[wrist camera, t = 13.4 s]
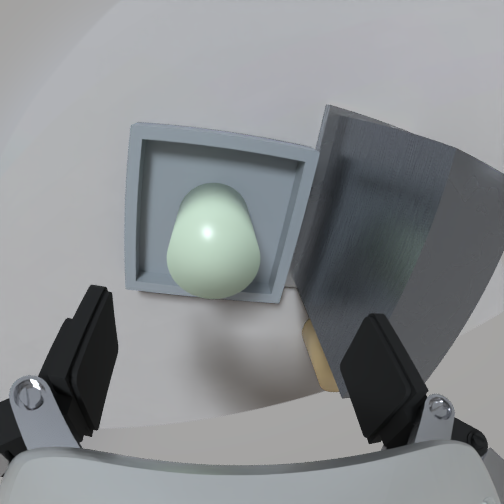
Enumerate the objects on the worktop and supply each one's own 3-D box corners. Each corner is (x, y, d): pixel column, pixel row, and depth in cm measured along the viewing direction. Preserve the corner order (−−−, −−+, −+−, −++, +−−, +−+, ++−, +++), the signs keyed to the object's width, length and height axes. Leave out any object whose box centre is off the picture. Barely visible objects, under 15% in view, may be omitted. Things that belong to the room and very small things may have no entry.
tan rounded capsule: (356, 309, 28) (382, 353, 23) (339, 345, 30) (359, 389, 25) (310, 307, 27) (331, 356, 22) (296, 345, 29) (311, 393, 24)
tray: (310, 147, 20) (320, 152, 18) (274, 288, 25) (279, 303, 23) (138, 122, 18) (130, 125, 16) (130, 274, 23) (125, 289, 21)
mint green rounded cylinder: (254, 188, 20) (269, 224, 15) (241, 251, 22) (250, 302, 17) (182, 178, 19) (170, 211, 14) (175, 243, 22) (164, 294, 16)
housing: (412, 133, 20) (535, 183, 10) (360, 286, 26) (426, 389, 16) (326, 104, 19) (445, 127, 8) (281, 280, 25) (325, 404, 14)
